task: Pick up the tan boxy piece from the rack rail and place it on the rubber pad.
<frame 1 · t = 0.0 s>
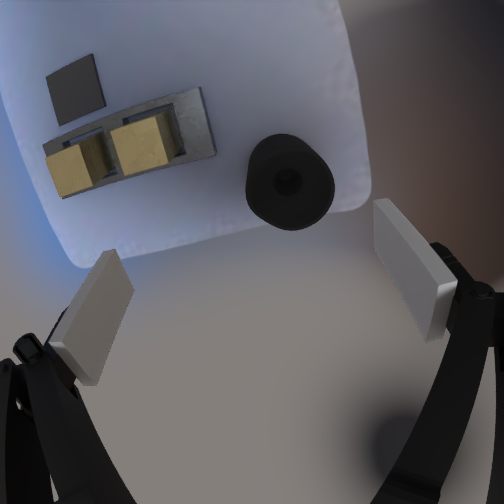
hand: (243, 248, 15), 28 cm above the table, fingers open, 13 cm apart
rack rail: (124, 143, 39), on the table
block: (157, 132, 39), resting in rack rail
rubber pad: (75, 90, 35), on the table
pen holder: (281, 164, 42), on the table
tan boxy piece: (94, 153, 40), resting in rack rail
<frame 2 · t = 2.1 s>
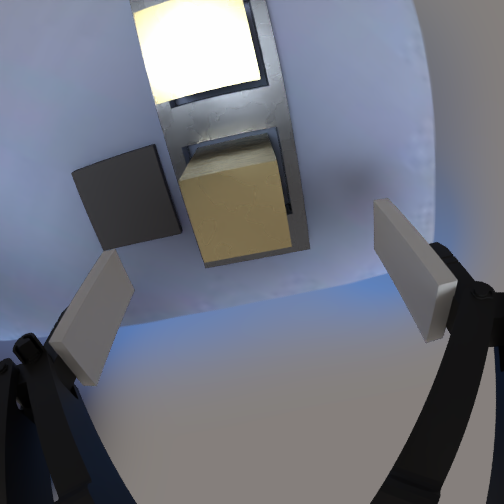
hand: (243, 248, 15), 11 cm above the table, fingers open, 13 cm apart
rack rail: (225, 112, 22), on the table
block: (210, 51, 20), resting in rack rail
rubber pad: (126, 199, 26), on the table
tan boxy piece: (239, 172, 25), resting in rack rail
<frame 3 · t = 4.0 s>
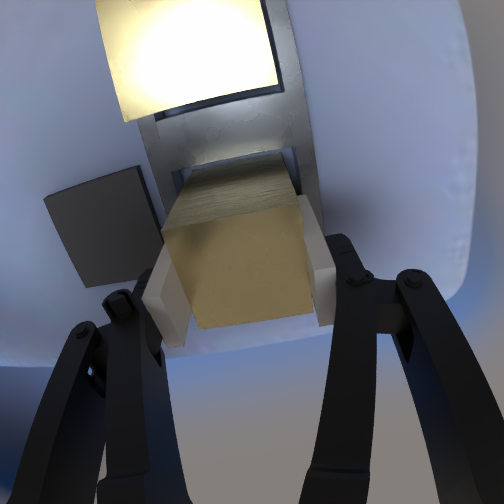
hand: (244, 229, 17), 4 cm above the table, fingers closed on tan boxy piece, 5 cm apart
rack rail: (227, 125, 18), on the table
block: (208, 46, 15), resting in rack rail
rubber pad: (108, 231, 21), on the table
tan boxy piece: (245, 201, 20), resting in rack rail, touching gripper
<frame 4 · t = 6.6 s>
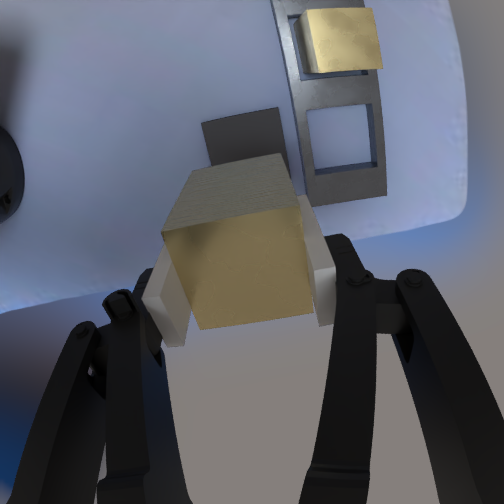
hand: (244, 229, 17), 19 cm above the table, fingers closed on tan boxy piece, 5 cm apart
rack rail: (332, 90, 29), on the table
block: (324, 45, 27), resting in rack rail
rubber pad: (247, 150, 33), on the table
tan boxy piece: (245, 201, 20), point 15 cm above the table, touching gripper
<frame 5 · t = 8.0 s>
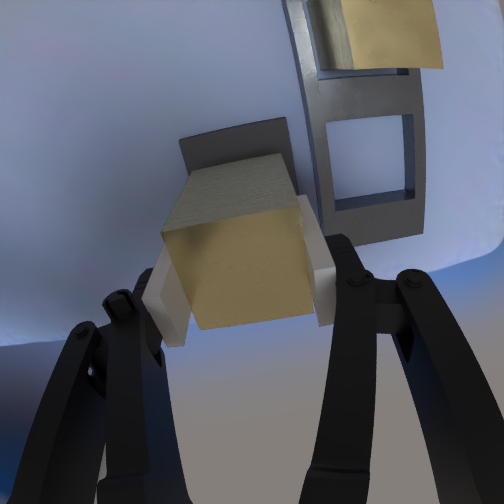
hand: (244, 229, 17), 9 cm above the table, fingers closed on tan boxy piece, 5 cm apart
rack rail: (359, 94, 21), on the table
block: (349, 32, 18), resting in rack rail
rubber pad: (243, 175, 25), on the table
tan boxy piece: (245, 202, 20), point 5 cm above the table, touching gripper
when the fingers open (6 cm above the table, at t = 9.2 s): tan boxy piece drops 2 cm, resting on rubber pad.
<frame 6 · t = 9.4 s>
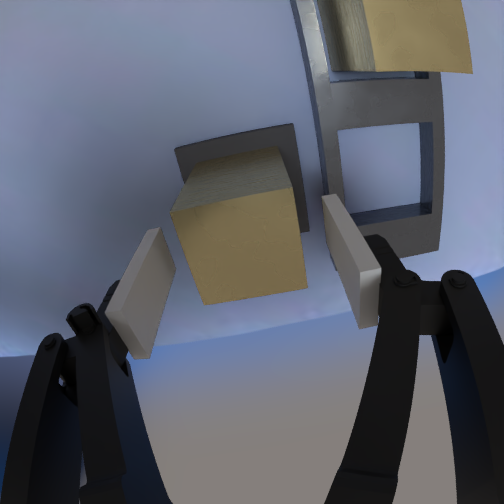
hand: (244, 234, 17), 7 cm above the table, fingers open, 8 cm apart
rack rail: (374, 99, 19), on the table
block: (363, 30, 16), resting in rack rail
rubber pad: (245, 188, 22), on the table
tan boxy piece: (245, 191, 22), point 1 cm above the table, touching rubber pad
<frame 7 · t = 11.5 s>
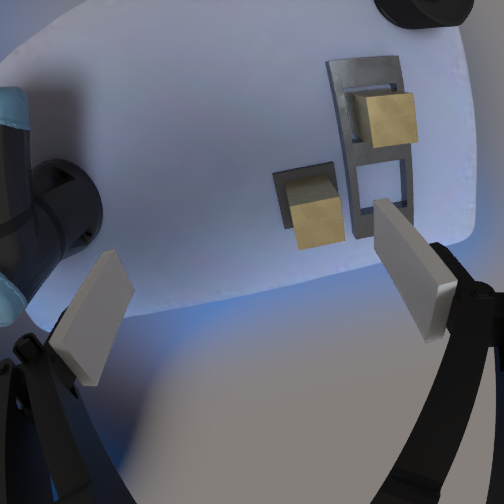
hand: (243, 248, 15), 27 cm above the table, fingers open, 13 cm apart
rack rail: (374, 147, 38), on the table
block: (369, 110, 36), resting in rack rail
rubber pad: (308, 195, 42), on the table
pen holder: (401, 0, 27), on the table
tan boxy piece: (308, 197, 41), point 1 cm above the table, touching rubber pad
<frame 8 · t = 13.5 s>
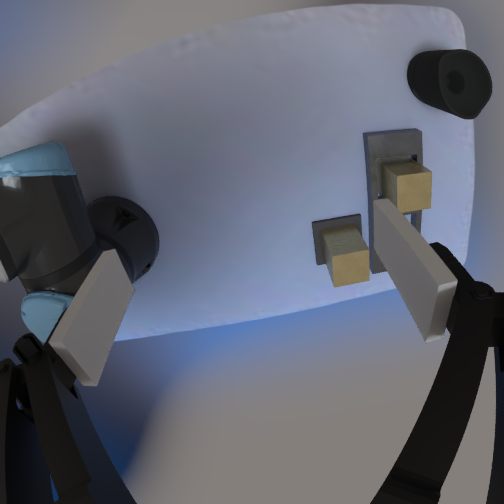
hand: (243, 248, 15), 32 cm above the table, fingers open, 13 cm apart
rack rail: (393, 202, 48), on the table
block: (392, 173, 46), resting in rack rail
rubber pad: (337, 239, 52), on the table
pen holder: (429, 78, 37), on the table
tan boxy piece: (338, 241, 51), point 1 cm above the table, touching rubber pad
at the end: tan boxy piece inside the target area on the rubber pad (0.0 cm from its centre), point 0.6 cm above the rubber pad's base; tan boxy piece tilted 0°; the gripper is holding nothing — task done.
